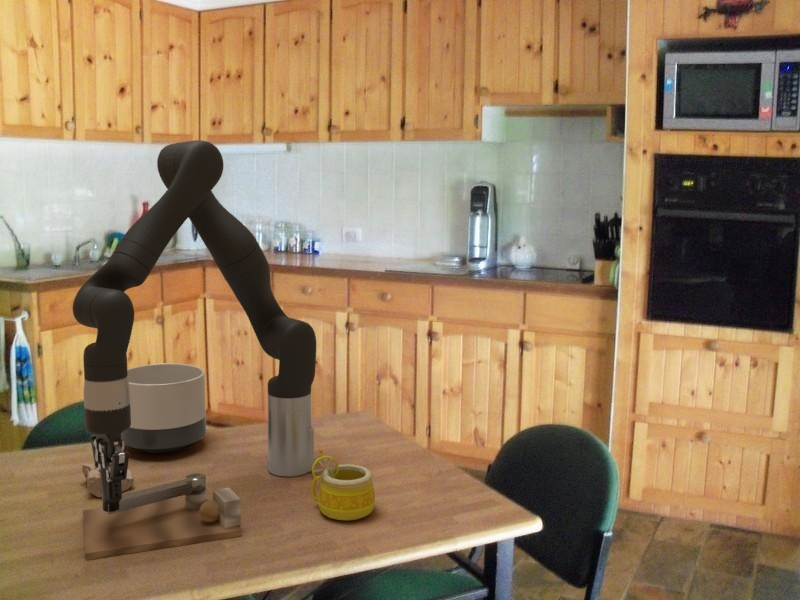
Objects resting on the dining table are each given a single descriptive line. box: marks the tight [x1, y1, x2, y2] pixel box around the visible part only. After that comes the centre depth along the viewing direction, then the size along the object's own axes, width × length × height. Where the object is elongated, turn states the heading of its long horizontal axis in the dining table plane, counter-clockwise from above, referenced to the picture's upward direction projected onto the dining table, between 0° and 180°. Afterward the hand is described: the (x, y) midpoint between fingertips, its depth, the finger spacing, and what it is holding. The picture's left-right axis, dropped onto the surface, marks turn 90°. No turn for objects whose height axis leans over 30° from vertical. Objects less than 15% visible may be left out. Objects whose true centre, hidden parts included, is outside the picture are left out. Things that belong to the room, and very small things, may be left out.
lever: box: [101, 462, 207, 514], centre depth 147 cm, size 19×4×8 cm, turn 130°
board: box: [82, 487, 243, 561], centre depth 147 cm, size 26×18×6 cm
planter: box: [121, 362, 207, 455], centre depth 186 cm, size 19×19×18 cm
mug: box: [310, 448, 376, 522], centre depth 154 cm, size 13×11×12 cm
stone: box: [81, 463, 135, 498], centre depth 164 cm, size 9×11×5 cm
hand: (111, 496), depth 142 cm, fingers closed on lever, 3 cm apart
